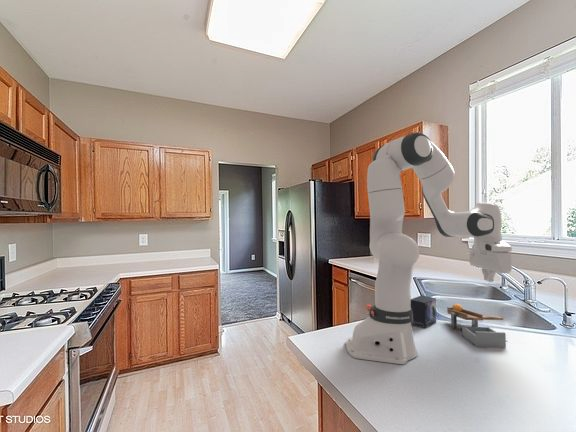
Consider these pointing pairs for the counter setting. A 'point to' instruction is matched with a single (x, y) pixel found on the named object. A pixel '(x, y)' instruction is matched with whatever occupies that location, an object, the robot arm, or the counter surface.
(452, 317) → the stand
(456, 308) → the ball
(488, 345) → the bin
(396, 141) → the robot arm
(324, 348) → the counter surface
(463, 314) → the brown wooden tray
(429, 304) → the small box
